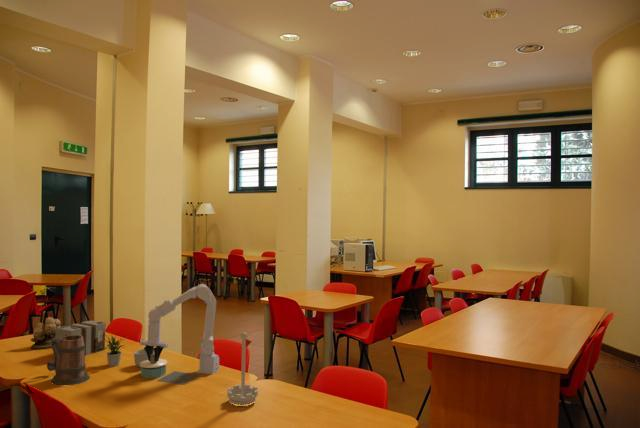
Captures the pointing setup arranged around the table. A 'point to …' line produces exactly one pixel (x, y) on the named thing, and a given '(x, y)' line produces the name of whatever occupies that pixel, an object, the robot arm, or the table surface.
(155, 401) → the table surface
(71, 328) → the bookend
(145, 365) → the lid
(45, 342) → the beige lumpy cluster
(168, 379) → the mat
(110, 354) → the house plant
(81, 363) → the tankard
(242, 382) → the flag stand
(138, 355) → the teacup
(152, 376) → the bowl
